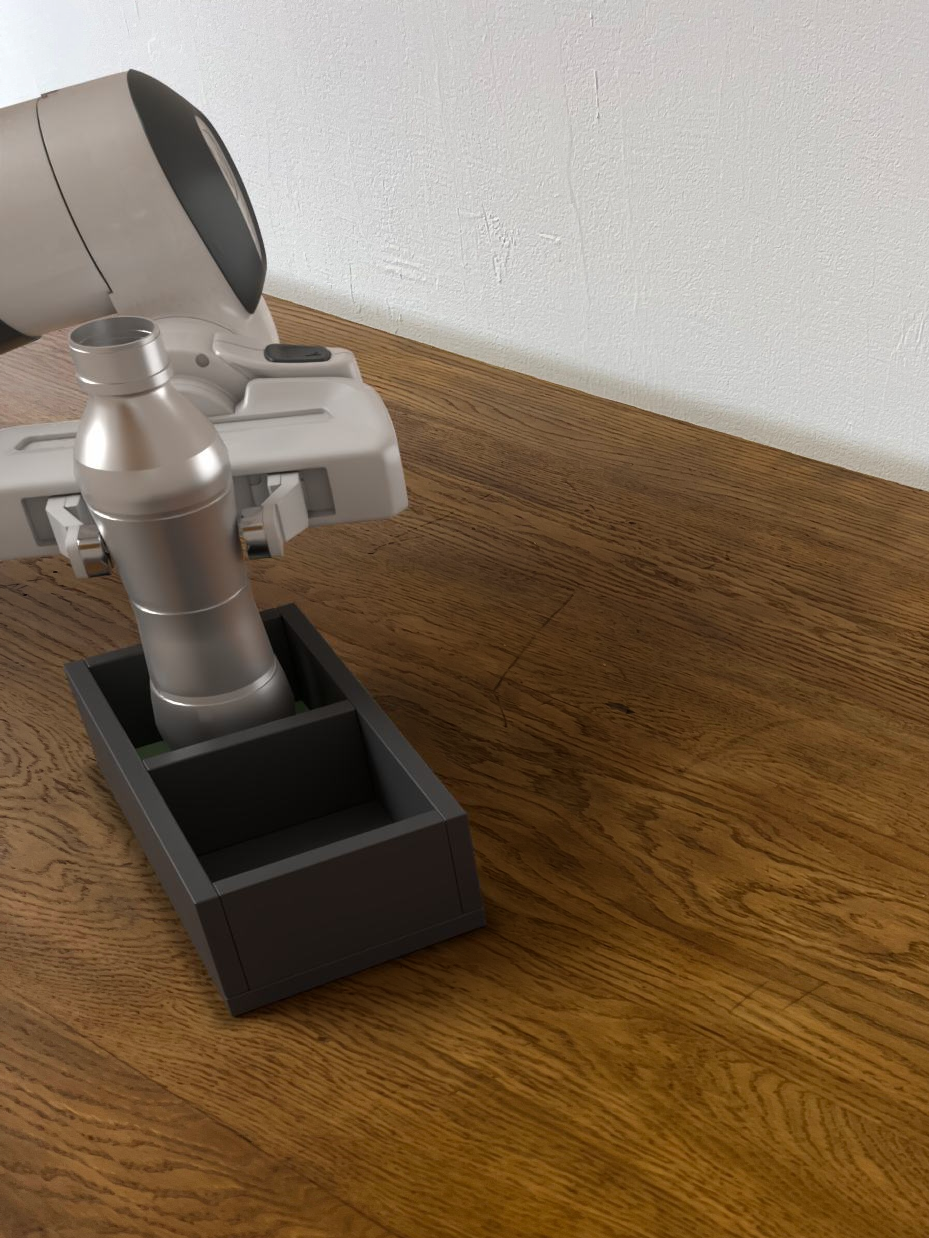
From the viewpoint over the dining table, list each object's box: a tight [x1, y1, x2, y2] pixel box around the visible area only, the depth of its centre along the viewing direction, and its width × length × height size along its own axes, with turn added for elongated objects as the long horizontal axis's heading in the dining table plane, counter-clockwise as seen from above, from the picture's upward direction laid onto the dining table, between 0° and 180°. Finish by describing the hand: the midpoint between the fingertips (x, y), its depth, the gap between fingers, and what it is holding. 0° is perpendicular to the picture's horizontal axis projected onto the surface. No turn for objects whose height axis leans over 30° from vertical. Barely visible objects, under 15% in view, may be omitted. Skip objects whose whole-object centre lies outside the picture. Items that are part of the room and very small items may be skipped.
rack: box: [62, 602, 487, 1018], centre depth 73 cm, size 12×22×6 cm, turn 31°
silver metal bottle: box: [66, 315, 296, 752], centre depth 70 cm, size 6×7×20 cm
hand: (176, 552), depth 69 cm, fingers closed on silver metal bottle, 6 cm apart
